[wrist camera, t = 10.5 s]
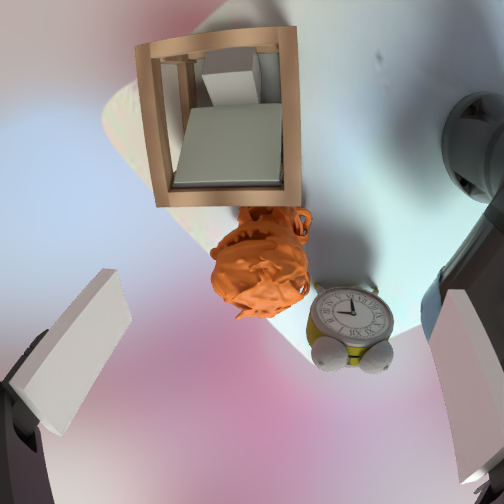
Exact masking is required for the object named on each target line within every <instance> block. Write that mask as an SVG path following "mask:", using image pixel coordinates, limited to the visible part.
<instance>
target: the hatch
mask: <svg viewBox="0 0 504 504" xmlns="http://www.w3.org/2000/svg"><path fill="white" fill-rule="evenodd" d="M281 129H282V104H281V103H269V104H245V105H228V106H214V107H202V108H192V109H191V113H190V116H189V120H188V124H187V128H186V132H185V136H184V140H183V144H182V149H181V153H180V157H179V161H178V166H177V170H176V175H175V179H174V182H173V188H191V187H227V186H282V180H280V162H281Z"/></svg>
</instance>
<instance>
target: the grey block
mask: <svg viewBox="0 0 504 504" xmlns="http://www.w3.org/2000/svg"><path fill="white" fill-rule="evenodd" d="M202 78H203V80H204V83H205V85H206V88H207V91H208V93H209V96H210V98H211V101H212V103H213V106H228V105H245V104H260V96H261V79H262V77H261V71H260V66H259V60H258V55H257V49H256V46H255V47H241V48H229V49H219V50H211V51H207V54H206V58H205V62H204V66H203V71H202Z"/></svg>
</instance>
